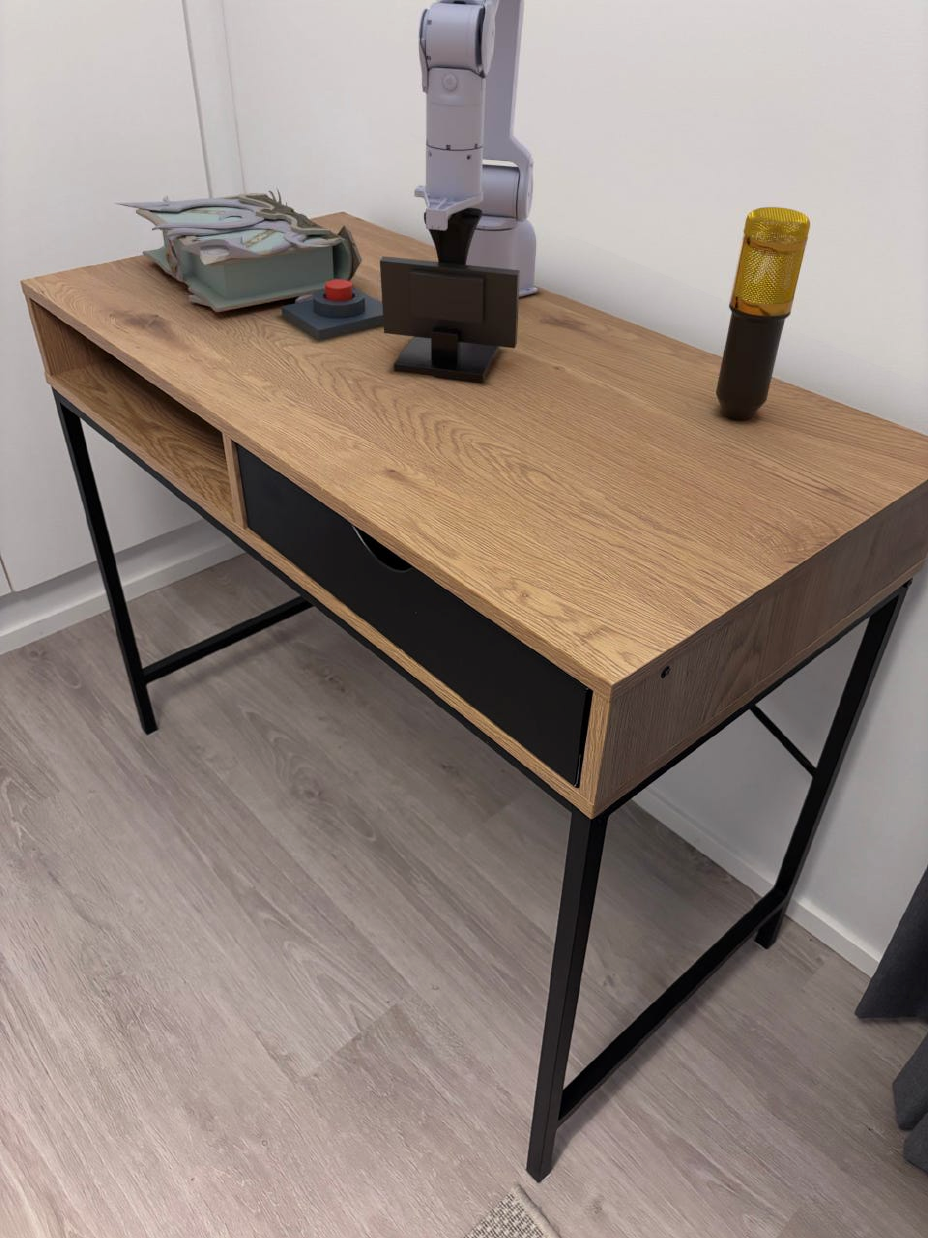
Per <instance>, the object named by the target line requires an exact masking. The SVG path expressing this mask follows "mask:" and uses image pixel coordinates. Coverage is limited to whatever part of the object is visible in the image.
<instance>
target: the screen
mask: <svg viewBox="0 0 928 1238" xmlns="http://www.w3.org/2000/svg"><path fill="white" fill-rule="evenodd" d="M379 272H380V291H381V302H382V308H383V325H382V326H383V333H384V334H389V335H397V336H405V337H412V338H413V337H421V338H430V339H431V332H432V330H433V329H434V327H437V328H446V329H455V330H461V342H464V343H472V344H481V345H490V346H498V347H500V348H507V349H516V347H517V344H518V328H519V327H518V326H519V304H520V303H519V299H520V297H519V282H520V270H511V269H502V268H492V267H482V266H473V265H463V264H453V263H444V262H438V261H434V260H424V259H423V260H422V259H413V258H405V257H404V258H403V257H395V256H394V257H393V256H385V255H382V257H381V258H380V259H379Z"/></svg>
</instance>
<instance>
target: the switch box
mask: <svg viewBox="0 0 928 1238" xmlns="http://www.w3.org/2000/svg"><path fill="white" fill-rule="evenodd" d="M281 317H282V318H283V319H285V320H286V321H288V322H290V323H291V324H293V325H294V326H296V327H297V328H299V330H302V331H304V332H305V333H306V334H308V335H309V336H311V337H313V338H314V339H316V340H317V341H319V342H320V341H323V340H324V341H325V340H329V339H332V338H337V337H339V336H340V337H341V336H345V335H349V334H353V333H357V332H361V331H366V330H369V329H374V328H377V327H381V326H384V325H383V308H382V301H380V300H378V299H376V298H374V297H373V296H371V295H369V294H367V293H366V292H364V291H363V290H360V289H358V288H353V287H352V299H351V300H347V301H330V300H327V299H326V296H325V289H321V290H319V291H317V292H315V293H314V294H313V300H309V301H304V302H300V303H291V304H286V305H282V306H281Z"/></svg>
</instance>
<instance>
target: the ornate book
mask: <svg viewBox="0 0 928 1238" xmlns="http://www.w3.org/2000/svg"><path fill="white" fill-rule="evenodd" d="M276 190H277V195H278V201H277V198H276V196H275V194H274V192H273V191H272V190H268V193H269V194H270V195H271V197H272V198H271V197H269V195H268V194H266V193H265V192H250V193H238V194H236V195H229V196H222V197H221V196H220V197H215V198H196V199H195V198H194V199H187V200H175V201H173V200H169V196H168V195H167V196H164V197H163V198H162V199H163V200H162V201H145V202H144V201H142V202H140V201H139V202H114V204H115V205H118V206H124V207H128V208H133V209H135V213H136V214H137V215H138V216H140V217H142V218H144V219H145V220H147V221H149V222H150V223H152V224H153V226H154V227H152V228H151V231H156V230H159V231H162V239H163V245H162V246H161V247H159V248H157V249H150V250H144V251H142V255H143V256H144V257H145V258H147V259H149V260H151V261H152V262H153V263H155V264H156V265H158V266H159V267H160V268H161V269H162V270H163V271H164V272H165V274H167V275H169V276H172V277H173V278H174V279H175V280H177V281H178V282H181V283H184V284H186V285H187V286H188V287H187V290H188V291H189V292H190V293H192V294H190V295H188V302H190V303H191V302H192V303H196V304H199V305H203V306H206V307H208V308H209V307H210V308H211V309H212V310H213V311H214V312H215V313H221V312H226V311H231V310H236V309H241V308H246V307H253V306H258V305H262V304H266V303H273V302H277V301H282V300H288V299H293V298H296V299H295V300H294V301H295V303H300V302H304V301H309V300H313V294H314V293H315V292H317V291H319V290H321V289H325V283H326V282H327V281H330V280H335V279H342V280H347V281H350V282H351V280H352V279H353V278H354V277H355V274H356V272H357V271H358V268H359V267H360V265H361V264H362V262H363V258H362V256H361V254H360V252H359V249H358V247H357V244H356V242H355V239H354V237H353V234H352V232H351V231H350V230H349V228H347V226H346V225H343V226H342V227H341V229H340V230H339V231H338V233H335V232H333V231H332V230H331V229H330V228H326V227H323V226H321V225H320V224H317V223H316V222H314V221H312V220H311V219H309V218H308V217H307V215H305V214H304V213H299V212H296V211H295V209H294V208H293V207H290V206H288V201H287V200H286V201H285V204H283V203H282V196H281V193H280V191H279V189H278V188H276ZM295 303H294V304H295Z"/></svg>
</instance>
